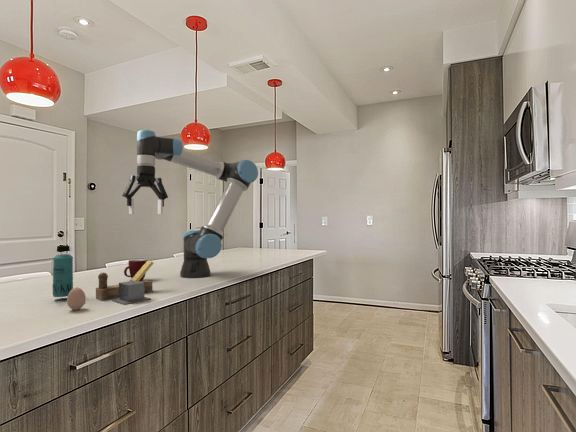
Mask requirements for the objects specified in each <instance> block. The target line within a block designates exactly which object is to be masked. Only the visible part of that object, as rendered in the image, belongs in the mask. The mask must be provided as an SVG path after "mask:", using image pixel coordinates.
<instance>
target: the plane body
mask: <svg viewBox="0 0 576 432" xmlns="http://www.w3.org/2000/svg"><path fill="white" fill-rule="evenodd" d="M97 277H98V287H95V300H99V301H106V300H107V301H108V300H115V299H119V284H113V285H108V277H109V276H108V274H107V273H106V272H100V273H99V274H98V276H97ZM139 282H143V283H144V294H148V293H152V292H153V281H150V280H143V281H139Z"/></svg>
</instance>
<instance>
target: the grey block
mask: <svg viewBox="0 0 576 432" xmlns="http://www.w3.org/2000/svg"><path fill="white" fill-rule="evenodd" d="M118 285H119V298H118V299H120V300H123V301H126V302H132V301H137V300H142V299H144V297H145V293H144V283H143V282H139V281H130V280H129V281H123V282H118Z"/></svg>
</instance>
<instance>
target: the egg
mask: <svg viewBox="0 0 576 432" xmlns="http://www.w3.org/2000/svg"><path fill="white" fill-rule="evenodd" d="M66 297H67V298H66V304H67V306H68V307H69V309H71V310H72V311H78V310H80V309H82V308H83V307H84V305H85V303H86V299H87V298H86V294H85V292H84V291H83V289H82V288H80V287H73V289H72V290H71V291H70V292H69V294H68V296H66Z"/></svg>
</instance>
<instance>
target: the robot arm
mask: <svg viewBox="0 0 576 432" xmlns="http://www.w3.org/2000/svg"><path fill="white" fill-rule="evenodd" d="M183 145H184V144H183V141H182V140H181V139H178V138H174V137H173V138H172V137H171V138H170V137H162V136H157V135H156V132H155V131H153V130H151V129H150V130H149V129H141V130H138V131H137V134H136V165H137V166H136V175H130V176H129V181H128V183H127V185H126V187H125V188H124V191H123V193H122V197H123V198H125V199H126V205H127V207H128V214H129V215H134V213H135V210H134V209H135V206H134V205H135V201H134V200H135V199H134V198H133V197H134V196H135V195H136V193H137V192H139V190H140V189H141V188H150V189H151V190H152V191H153V192H154V194H155V195H156V196H157V198H158V199H157V215H163V211H164V210H163V207H164V206H165V200H166V199H168V198H169V195H168V193H167V192H166V188H165V186H164V184H163V181H162V178H161V177H156V176H155V175H156V167H155V166H156V160H165V161H168V162H171V163H173V164H177V165H179V166H183V167H186V168H189V169H193V170H196V171H199V172H201V173H205V174H208V175H211V176H214V177H215V179H217V180H220V181H223V182H225V183H227V185H226V187H225V188H224V191H223V193H222V194H221V196H220V198H219V199H218V200H219V201H218V202H217V204H216V206H215V207H214V209H213V211H212V214H211V215H210V217H209V219H208V221H207V223H206V224H204V225H202V226H201V227H200V229H198V230H195V229H194V230H187V231H185V232H184V233H183V238H182V239H183V263H182V266H181V269H180V271H179V276H180V277H181V278H187V279H192V278H194V279H195V278H204V277H209V276H211V269H210V265H209V263H208V259H213V258H214V257H216V256H218V254H219V253H220V252H221V250H222V247H223V244H222V241H223V239H224V233H223V232H224V230H225V228H226V226H227V224H228V222H229V219H230V218H231V216H232V214H233V213H234V210H235V209H236V206H237V204H238V202H239V200H240V198H241V196H242V194H243V193H244V192H246V191H248V189H249V187H250V186H251V183H254V182H255V181H256V180H257V179H258V176H259V169H258V166H257V165H256V163H254V161H252V160H249V159H242V160H239V161H236V162H231V163H230V162H229V163H228V162H225V161H215V160H213V159H210V158H208V157H204V156H202V155H199V154H195V153H193V152H190V151H188V150H185V149H183V148H184V147H183ZM136 181H137V183H136V184H135V182H136ZM134 184H135V186H134Z"/></svg>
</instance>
